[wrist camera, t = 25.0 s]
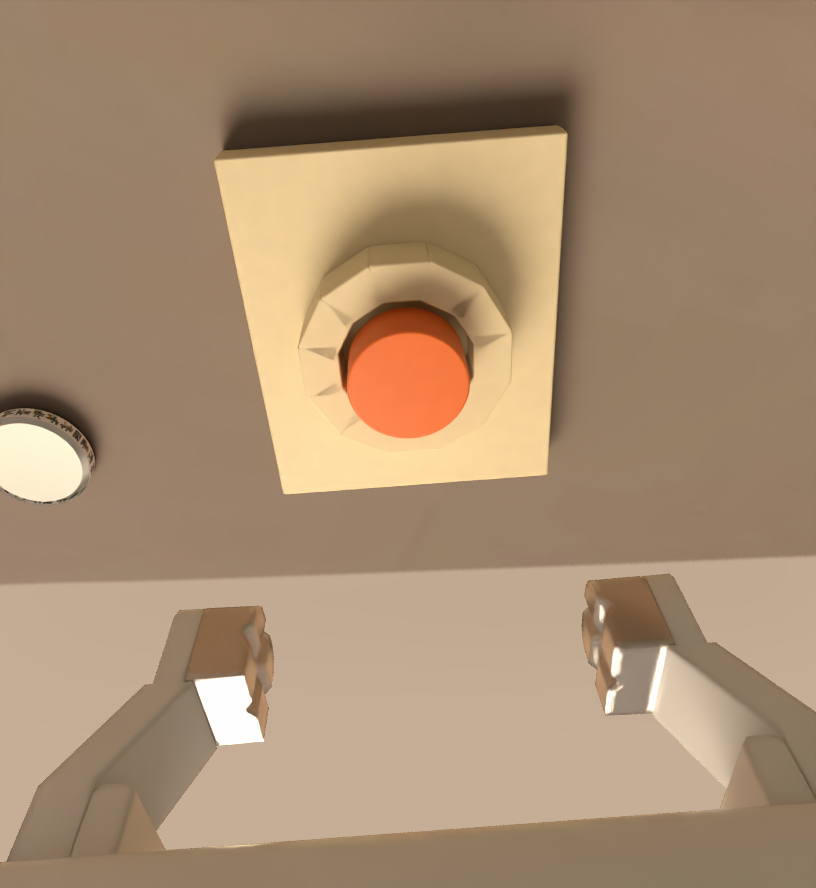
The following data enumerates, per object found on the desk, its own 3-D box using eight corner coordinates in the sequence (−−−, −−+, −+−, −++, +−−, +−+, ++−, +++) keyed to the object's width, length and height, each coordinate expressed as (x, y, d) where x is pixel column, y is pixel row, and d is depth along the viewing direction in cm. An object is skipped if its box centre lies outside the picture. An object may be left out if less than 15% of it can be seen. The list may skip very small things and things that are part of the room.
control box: (286, 476, 27) (277, 526, 25) (221, 150, 20) (199, 174, 18) (541, 457, 27) (558, 505, 25) (558, 124, 20) (584, 144, 18)
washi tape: (-37, 413, 25) (-46, 422, 24) (74, 404, 25) (67, 413, 24) (7, 499, 27) (0, 510, 27) (108, 491, 27) (103, 501, 27)
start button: (354, 413, 23) (353, 444, 21) (341, 310, 21) (339, 336, 19) (465, 405, 23) (471, 435, 21) (462, 301, 21) (469, 326, 19)
